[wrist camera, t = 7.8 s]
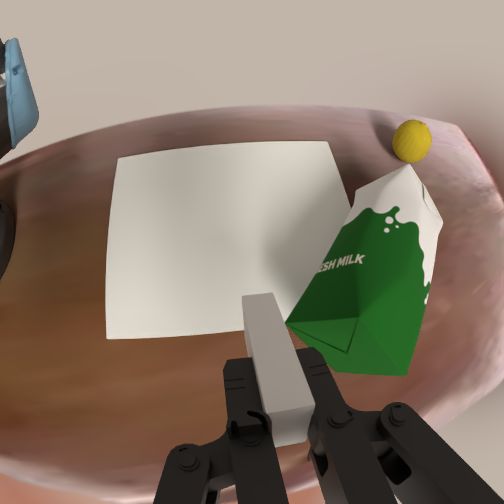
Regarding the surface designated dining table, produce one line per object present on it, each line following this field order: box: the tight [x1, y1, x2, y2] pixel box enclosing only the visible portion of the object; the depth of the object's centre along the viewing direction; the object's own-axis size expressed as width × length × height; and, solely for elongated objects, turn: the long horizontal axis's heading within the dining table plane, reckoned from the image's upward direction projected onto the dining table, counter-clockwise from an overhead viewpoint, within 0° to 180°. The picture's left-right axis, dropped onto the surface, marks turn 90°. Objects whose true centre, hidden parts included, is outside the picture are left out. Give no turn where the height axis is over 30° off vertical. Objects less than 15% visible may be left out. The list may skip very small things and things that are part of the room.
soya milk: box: [285, 164, 443, 376], centre depth 23 cm, size 9×9×20 cm
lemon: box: [392, 120, 432, 163], centre depth 32 cm, size 6×6×8 cm
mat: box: [106, 141, 351, 339], centre depth 30 cm, size 22×28×1 cm
